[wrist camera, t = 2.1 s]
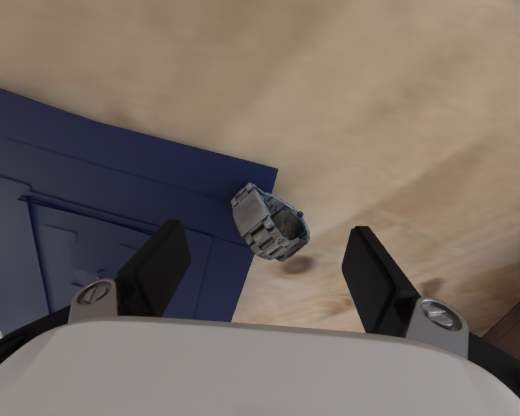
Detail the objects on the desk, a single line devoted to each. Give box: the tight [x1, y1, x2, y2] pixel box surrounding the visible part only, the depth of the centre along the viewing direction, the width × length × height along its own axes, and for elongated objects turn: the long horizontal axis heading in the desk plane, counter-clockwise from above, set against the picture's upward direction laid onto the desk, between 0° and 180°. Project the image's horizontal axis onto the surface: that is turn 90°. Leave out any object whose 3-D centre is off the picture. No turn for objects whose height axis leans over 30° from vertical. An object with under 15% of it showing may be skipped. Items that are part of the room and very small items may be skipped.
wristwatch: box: [231, 182, 310, 262], centre depth 12 cm, size 3×5×5 cm
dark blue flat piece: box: [0, 89, 278, 337], centre depth 18 cm, size 24×30×4 cm
